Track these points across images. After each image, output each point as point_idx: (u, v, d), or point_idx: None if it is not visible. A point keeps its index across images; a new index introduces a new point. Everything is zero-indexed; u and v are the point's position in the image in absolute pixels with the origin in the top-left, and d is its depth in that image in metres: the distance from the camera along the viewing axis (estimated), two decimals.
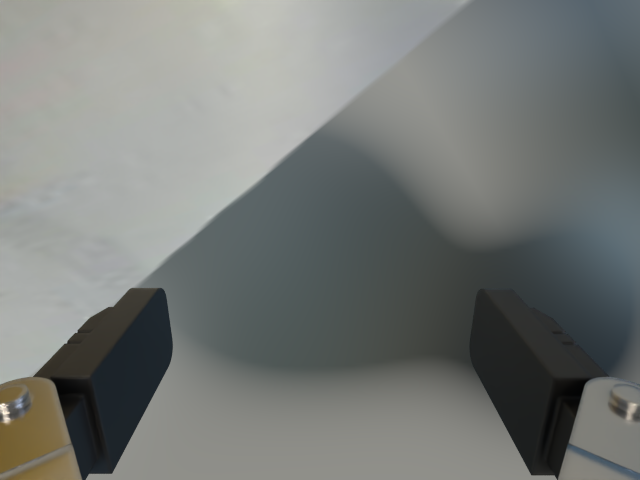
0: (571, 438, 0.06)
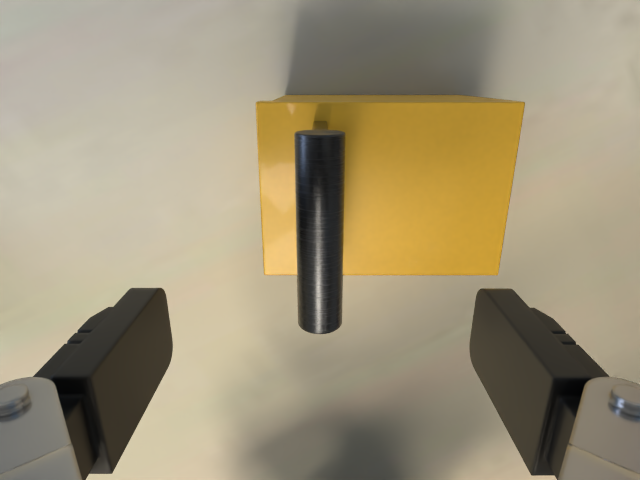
0: (571, 438, 0.06)
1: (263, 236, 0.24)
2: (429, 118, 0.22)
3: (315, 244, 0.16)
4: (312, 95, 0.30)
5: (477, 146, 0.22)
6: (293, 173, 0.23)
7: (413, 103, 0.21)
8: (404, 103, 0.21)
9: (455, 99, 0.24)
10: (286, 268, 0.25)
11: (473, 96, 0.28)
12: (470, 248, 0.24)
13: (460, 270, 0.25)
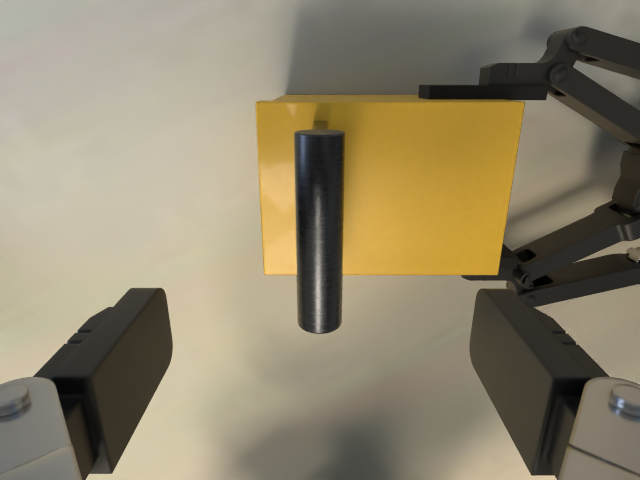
0: (571, 438, 0.06)
1: (263, 236, 0.24)
2: (429, 118, 0.22)
3: (315, 244, 0.16)
4: (312, 95, 0.30)
5: (477, 146, 0.22)
6: (293, 173, 0.23)
7: (413, 103, 0.21)
8: (404, 103, 0.21)
9: (455, 99, 0.24)
10: (286, 268, 0.25)
11: None
12: (470, 248, 0.24)
13: (460, 270, 0.25)
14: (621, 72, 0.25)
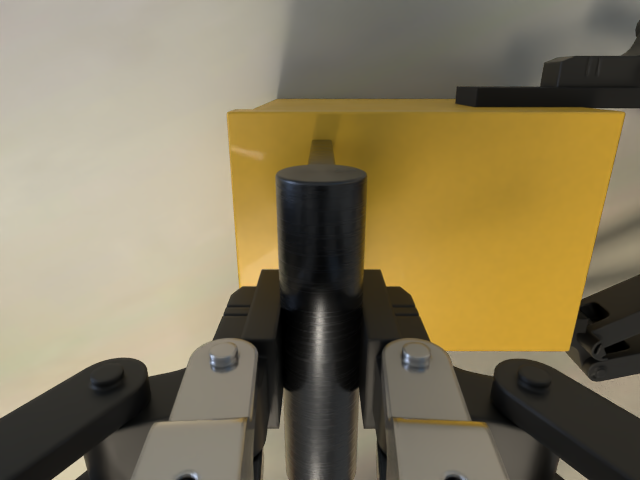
0: (388, 408, 0.06)
1: None
2: (483, 136, 0.15)
3: (313, 365, 0.09)
4: (311, 99, 0.23)
5: (551, 176, 0.15)
6: None
7: (460, 114, 0.15)
8: (446, 114, 0.15)
9: None
10: None
11: None
12: (533, 316, 0.17)
13: (517, 345, 0.18)
14: None
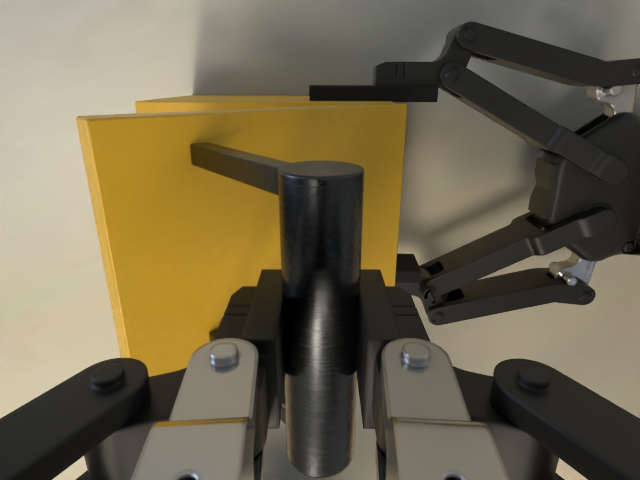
0: (387, 408, 0.06)
1: (127, 339, 0.14)
2: (328, 128, 0.17)
3: (339, 347, 0.10)
4: None
5: (373, 156, 0.19)
6: (166, 229, 0.14)
7: (311, 110, 0.17)
8: (302, 110, 0.16)
9: None
10: None
11: None
12: None
13: None
14: (528, 72, 0.23)
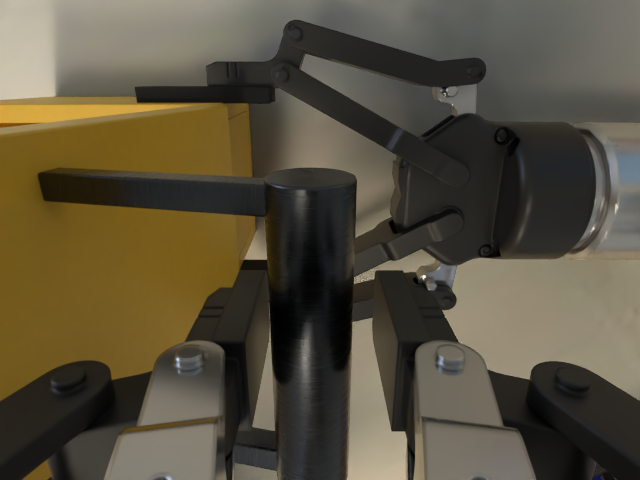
0: (418, 408, 0.06)
1: None
2: (173, 136, 0.15)
3: (348, 355, 0.10)
4: None
5: (210, 162, 0.18)
6: (24, 298, 0.10)
7: (155, 116, 0.14)
8: (147, 118, 0.14)
9: None
10: None
11: None
12: (224, 281, 0.20)
13: None
14: (372, 72, 0.23)
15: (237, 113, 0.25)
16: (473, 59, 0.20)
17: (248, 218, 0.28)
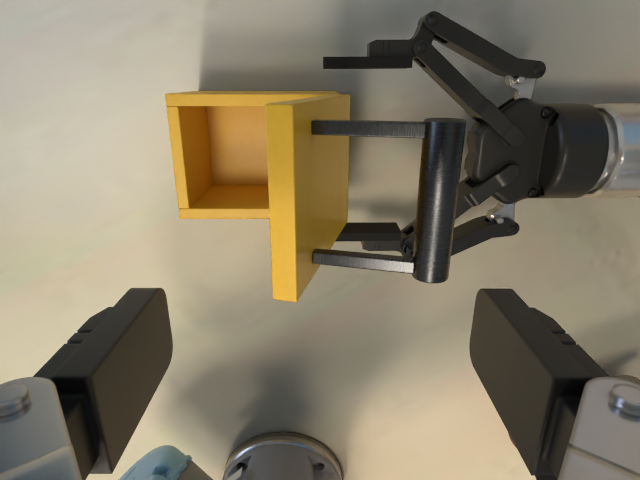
0: (571, 438, 0.06)
1: (296, 258, 0.21)
2: (336, 110, 0.27)
3: (455, 206, 0.21)
4: None
5: None
6: (305, 178, 0.21)
7: (333, 98, 0.25)
8: (331, 98, 0.25)
9: (305, 93, 0.33)
10: (304, 283, 0.23)
11: None
12: (343, 207, 0.32)
13: (342, 227, 0.32)
14: (468, 58, 0.33)
15: None
16: (539, 62, 0.32)
17: None
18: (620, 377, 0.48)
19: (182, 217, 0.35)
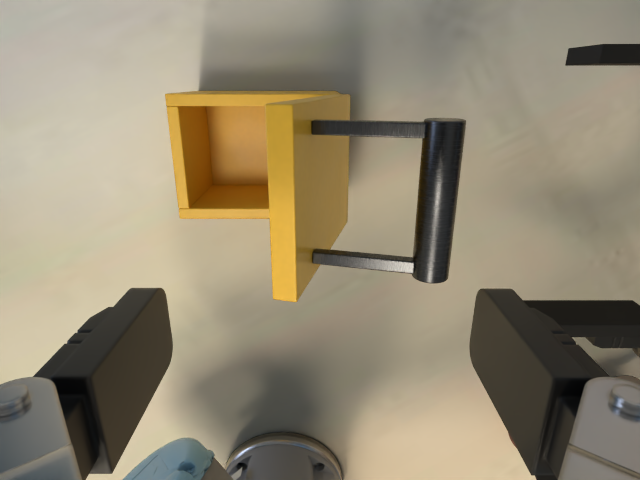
0: (571, 438, 0.06)
1: (296, 258, 0.21)
2: (336, 110, 0.27)
3: (455, 205, 0.21)
4: None
5: None
6: (305, 178, 0.21)
7: (333, 98, 0.25)
8: (331, 98, 0.25)
9: (305, 93, 0.33)
10: (304, 283, 0.23)
11: None
12: (343, 207, 0.32)
13: (342, 227, 0.32)
14: None
15: None
16: None
17: None
18: (620, 377, 0.48)
19: (182, 217, 0.35)
